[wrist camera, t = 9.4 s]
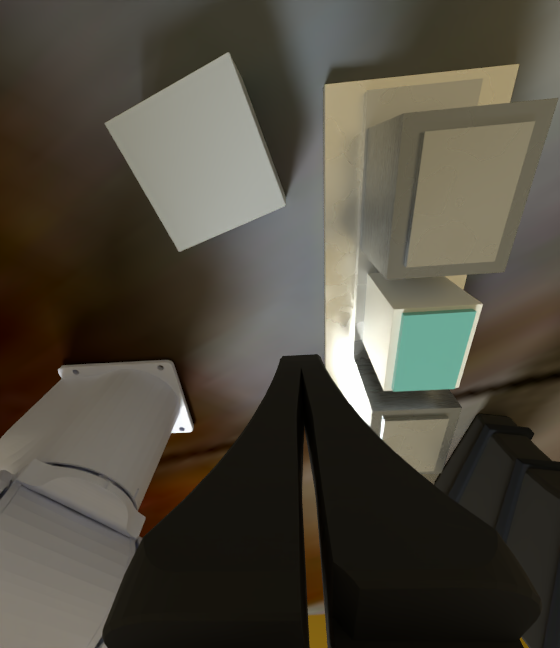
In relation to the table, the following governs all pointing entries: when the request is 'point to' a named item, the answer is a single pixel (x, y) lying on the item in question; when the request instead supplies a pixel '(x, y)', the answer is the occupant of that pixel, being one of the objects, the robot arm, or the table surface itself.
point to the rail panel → (418, 217)
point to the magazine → (514, 506)
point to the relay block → (200, 154)
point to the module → (418, 331)
